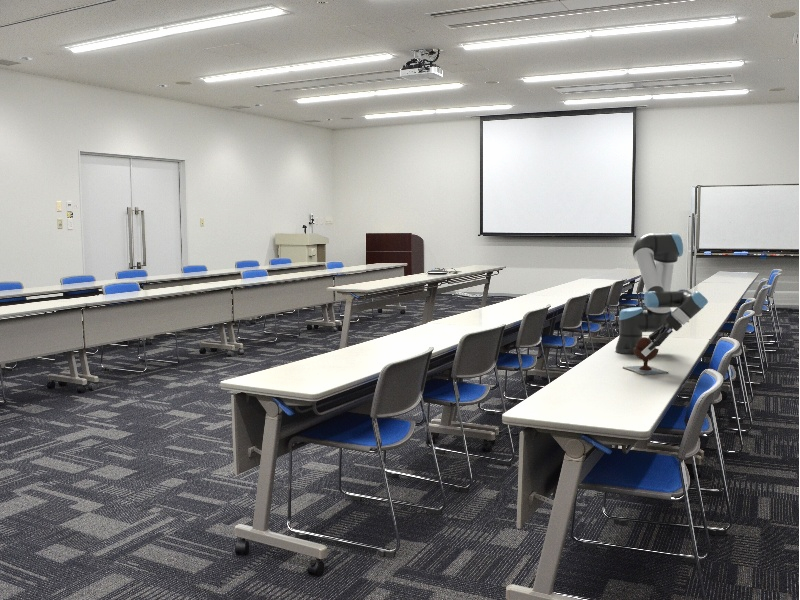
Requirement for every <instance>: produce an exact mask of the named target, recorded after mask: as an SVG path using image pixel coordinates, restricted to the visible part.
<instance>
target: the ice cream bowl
mask: <svg viewBox="0 0 800 600" xmlns="http://www.w3.org/2000/svg"><path fill="white" fill-rule="evenodd" d="M651 343H652V342H651V340H649V339H648V337H643V336H642V338H640V339H639V340H638V342H637V344H636V348H634V349H633V351H634V354H633V355H635V356H636V357H637V358H638V359H639V360H641V361H642V362H643V365H641V366H642V367H640V368H639V369H640V370H652V368H650V367H649V366H650V365H649V364H648V363H649V361H652V360H653V359H654V358H655V357H656V356H657V355H658V353H659V348H657V347H656V348H655V349H654V350H653V351H651V352H650V353H649V354H648V355H647V356H644V355H643V354H642V353H641V352H642V351H643V350H644V349H645V348H646V347H647V346H648V345H649V344H651ZM648 365H649V366H648Z"/></svg>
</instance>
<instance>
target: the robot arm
mask: <svg viewBox="0 0 800 600" xmlns="http://www.w3.org/2000/svg"><path fill="white" fill-rule="evenodd" d="M683 254H684V243H683V239H682V237H681V236H680V235H679V233H673V232H672V233H671V232H667V233H646V234H644V235H641V236H640V237H639V238H638V239H637V240H636V241H635V243H634V245H633V247H632V257H633V258H634V261H635V262H637V264H638V268H639V272H640V274H641V277H642V281H643V284H644V288H645V290H646V292H644V296H643V302H644V306H645V307H646V308H647V309H643V307H640V306H639V307H637V306H635V307H628V308H623V309H621V310H620V311H619V317H618V320H619V323H618V325H619V327H618V328H619V329H618V330H619V332H618V334H619V335H618V336H619V337H618V340H617V343H616V346H615V353H617V354H618V353H620V354H626V355H635V354H634V351H633V349H634V348H636V344H637V342H638V340H639V339H640V338H642V337H643V333H651V334H649V335H648V337H647V338H648V339H649V340H651V342H652V343H651V344H649V345H648V346H647V347H646V348H645V349H644V350H643V351H642V352H641V353H642V354H643V355H644V356H647V355H648V354H649V353H650V352H651V351H653V350H654V349H655V348H656V349H657V347H660V346H661V344H662V343H664V341H665V340H667V338H668V337H669V336H670V335H671V334H672V333H673V330H674V331H675V332H679V330H680V329H681V328H682V327H683V326H684V325H686V324H687V323H690V320H691V319H692V318H693V317H695V315H697V314H698V313H699V312H701V310H702V309H704V308H705V306H706V305H707V304H708V303H709V301H708V299H707V298H706V297H705V296H704V295H703V294H702V293H701V292H699V291H698V290H695V291H694V292H691V291H689V290H688V289H683V288H682V289H679V290H676V291H675V290H674V291H673V290H672V291H671V287H672V286H671V285H672V280H673V279H672V278H673V272H674V271H673V270H674V264H675V263H677V262H678V259H679V258H681V257H682V256H683ZM673 308H675V309H674V310H672V309H673Z"/></svg>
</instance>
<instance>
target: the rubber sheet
mask: <svg viewBox="0 0 800 600" xmlns="http://www.w3.org/2000/svg"><path fill="white" fill-rule="evenodd" d="M642 366H643V365H633V366H632V365H630V366H622V369H624V370H627V371H629V372H632V371H633V372H632V373H635V372H636V374H638V373H639V375H641V374H642V376H647V375H646V374H652V375H661V374H660V373H666V374H669V373H670V372H669V371H668V370H665V369H661V368H658V367H654V366H651V365H649V364H648V366H649V367H650V368H652V370H640V369H639V368H640V367H642Z"/></svg>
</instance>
